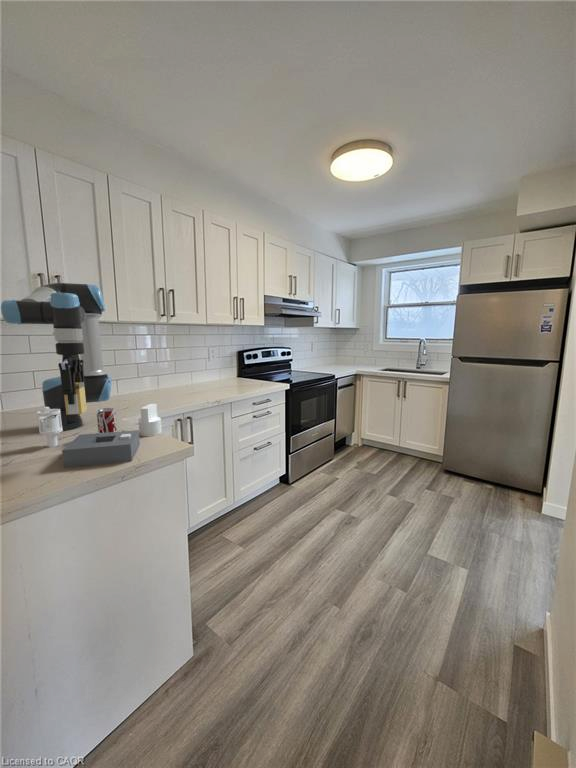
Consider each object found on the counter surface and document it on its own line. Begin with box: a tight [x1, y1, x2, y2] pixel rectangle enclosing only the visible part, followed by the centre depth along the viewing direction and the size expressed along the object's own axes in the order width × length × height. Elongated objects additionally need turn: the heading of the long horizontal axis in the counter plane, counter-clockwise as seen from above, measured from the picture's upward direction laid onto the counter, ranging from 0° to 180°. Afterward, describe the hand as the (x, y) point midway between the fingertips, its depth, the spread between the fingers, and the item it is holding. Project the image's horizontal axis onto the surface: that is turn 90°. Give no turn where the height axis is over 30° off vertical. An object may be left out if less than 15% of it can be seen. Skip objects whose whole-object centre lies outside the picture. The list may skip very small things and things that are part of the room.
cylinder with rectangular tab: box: [138, 403, 163, 437], centre depth 135 cm, size 9×9×12 cm
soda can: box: [96, 407, 118, 433], centre depth 129 cm, size 7×7×12 cm
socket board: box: [61, 429, 141, 468], centre depth 110 cm, size 16×20×7 cm
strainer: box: [36, 406, 63, 448], centre depth 119 cm, size 7×7×15 cm
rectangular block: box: [64, 382, 88, 415], centre depth 104 cm, size 4×4×10 cm
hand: (77, 411), depth 105 cm, fingers closed on rectangular block, 4 cm apart
